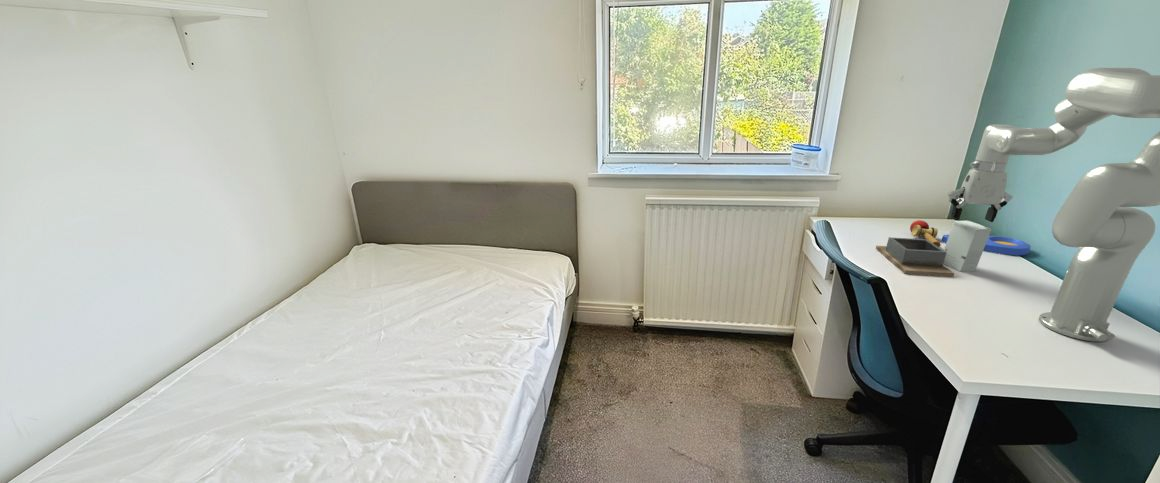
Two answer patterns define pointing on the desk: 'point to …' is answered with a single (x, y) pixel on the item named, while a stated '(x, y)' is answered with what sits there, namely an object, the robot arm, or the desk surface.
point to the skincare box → (965, 245)
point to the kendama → (924, 231)
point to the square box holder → (916, 256)
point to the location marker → (1003, 245)
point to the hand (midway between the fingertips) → (971, 219)
